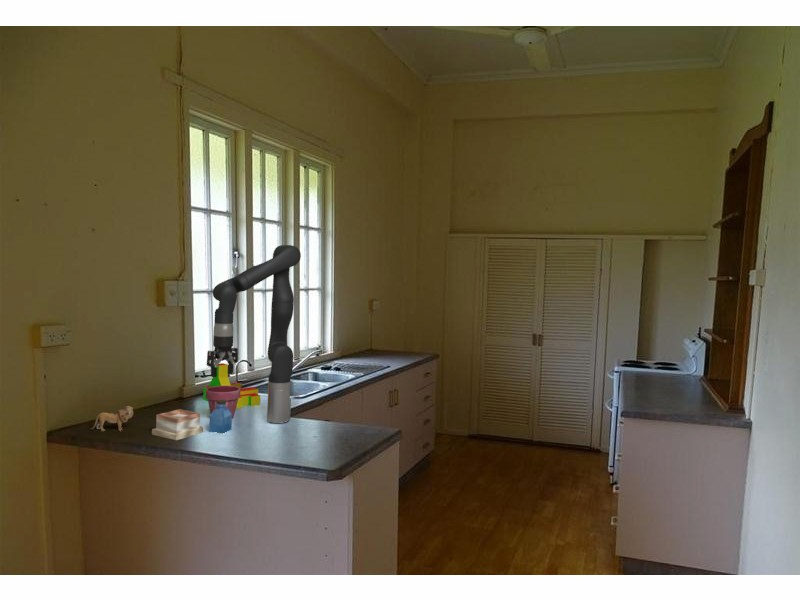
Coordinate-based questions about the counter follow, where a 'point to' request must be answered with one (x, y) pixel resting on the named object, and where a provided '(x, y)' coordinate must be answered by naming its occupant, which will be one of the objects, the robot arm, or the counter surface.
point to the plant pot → (223, 397)
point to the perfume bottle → (220, 418)
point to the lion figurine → (114, 418)
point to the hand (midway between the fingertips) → (222, 375)
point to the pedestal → (177, 424)
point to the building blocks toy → (246, 394)
